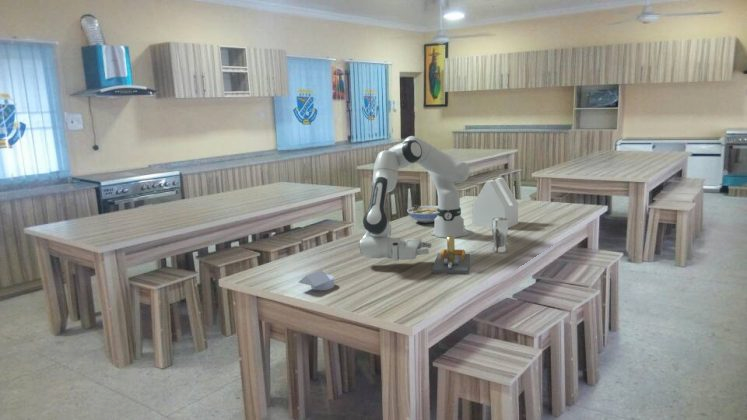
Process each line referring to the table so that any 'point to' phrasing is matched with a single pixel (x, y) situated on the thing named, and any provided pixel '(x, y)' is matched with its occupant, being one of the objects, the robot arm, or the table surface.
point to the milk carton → (495, 204)
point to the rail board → (455, 269)
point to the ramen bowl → (423, 213)
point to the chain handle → (450, 253)
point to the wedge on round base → (319, 280)
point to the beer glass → (499, 234)
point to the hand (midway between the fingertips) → (429, 248)
